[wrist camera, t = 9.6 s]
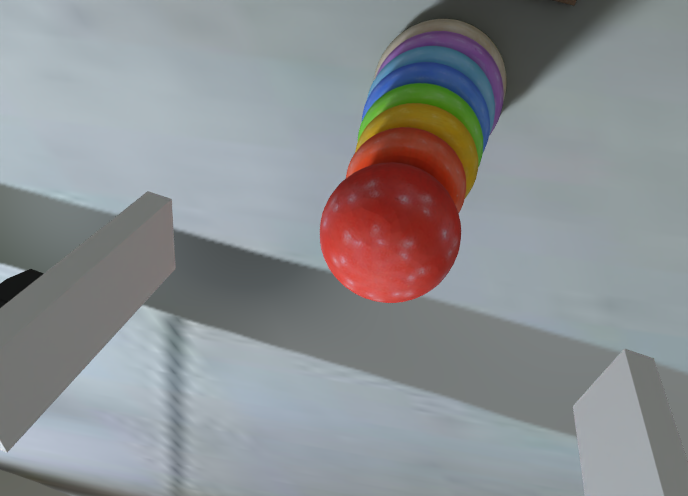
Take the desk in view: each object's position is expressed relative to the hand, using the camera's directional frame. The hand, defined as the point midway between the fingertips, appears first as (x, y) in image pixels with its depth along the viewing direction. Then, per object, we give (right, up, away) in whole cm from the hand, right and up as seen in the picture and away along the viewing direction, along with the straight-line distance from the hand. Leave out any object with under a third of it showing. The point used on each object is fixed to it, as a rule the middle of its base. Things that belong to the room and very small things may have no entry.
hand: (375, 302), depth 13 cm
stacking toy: (+5, +12, +16) cm, 21 cm away
